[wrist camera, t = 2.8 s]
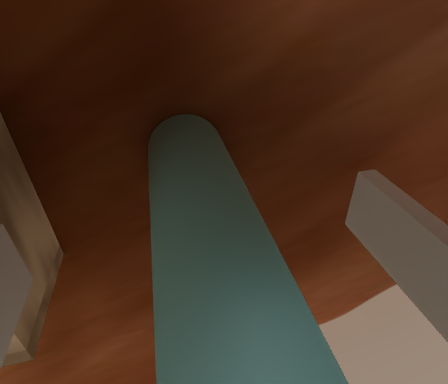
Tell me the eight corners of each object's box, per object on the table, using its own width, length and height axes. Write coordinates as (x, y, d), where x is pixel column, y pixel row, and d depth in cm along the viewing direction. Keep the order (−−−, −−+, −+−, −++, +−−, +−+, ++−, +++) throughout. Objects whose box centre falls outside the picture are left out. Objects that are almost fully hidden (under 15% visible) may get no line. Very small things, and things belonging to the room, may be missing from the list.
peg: (141, 118, 15) (141, 513, 4) (220, 110, 16) (419, 426, 4) (153, 185, 17) (176, 559, 6) (222, 176, 18) (357, 497, 7)
